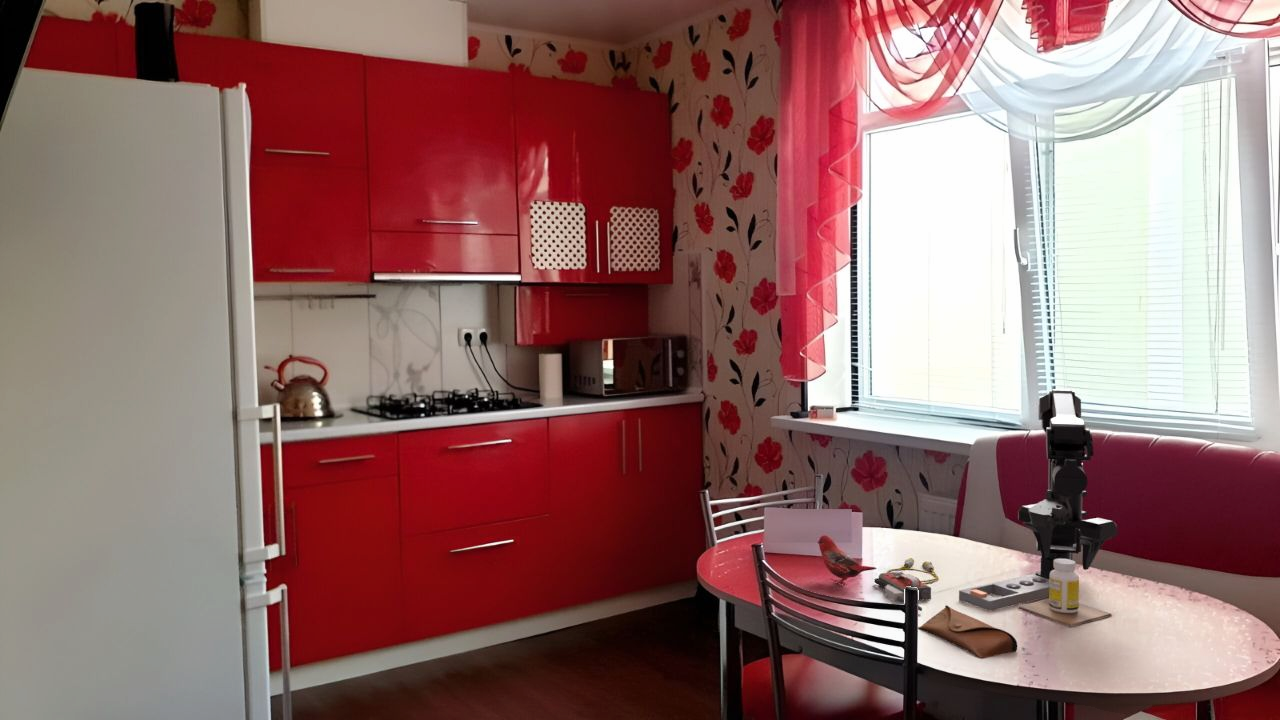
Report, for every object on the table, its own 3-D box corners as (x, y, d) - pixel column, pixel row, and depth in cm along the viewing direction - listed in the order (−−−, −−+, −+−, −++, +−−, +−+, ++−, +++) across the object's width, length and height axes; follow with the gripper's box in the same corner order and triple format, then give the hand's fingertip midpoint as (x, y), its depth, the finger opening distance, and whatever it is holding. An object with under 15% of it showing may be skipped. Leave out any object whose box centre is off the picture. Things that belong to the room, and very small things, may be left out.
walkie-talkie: (865, 587, 209) (915, 617, 190) (865, 567, 209) (916, 595, 190) (900, 583, 212) (954, 612, 192) (900, 563, 211) (954, 590, 192)
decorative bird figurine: (821, 575, 217) (821, 532, 216) (881, 595, 202) (881, 549, 201) (812, 577, 215) (812, 534, 215) (871, 598, 201) (871, 551, 200)
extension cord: (958, 575, 217) (958, 566, 217) (918, 590, 207) (918, 581, 207) (911, 564, 226) (911, 555, 226) (871, 578, 216) (871, 569, 216)
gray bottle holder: (1031, 582, 209) (1031, 571, 209) (1063, 593, 202) (1063, 580, 202) (958, 599, 199) (959, 587, 198) (989, 611, 192) (989, 598, 191)
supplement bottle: (1078, 607, 192) (1079, 559, 191) (1078, 615, 187) (1079, 566, 186) (1049, 603, 194) (1050, 556, 193) (1048, 611, 189) (1049, 563, 188)
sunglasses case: (912, 626, 183) (927, 594, 184) (936, 639, 186) (950, 608, 187) (982, 659, 167) (998, 624, 168) (1008, 673, 170) (1023, 639, 171)
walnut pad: (1058, 598, 198) (1058, 596, 198) (1111, 615, 188) (1111, 613, 188) (1018, 608, 193) (1018, 606, 193) (1070, 626, 182) (1070, 624, 182)
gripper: (999, 482, 193) (998, 558, 194) (1081, 499, 176) (1079, 582, 177) (1037, 476, 198) (1036, 550, 199) (1120, 492, 181) (1118, 573, 183)
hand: (1065, 563), depth 189 cm, fingers open, 9 cm apart
